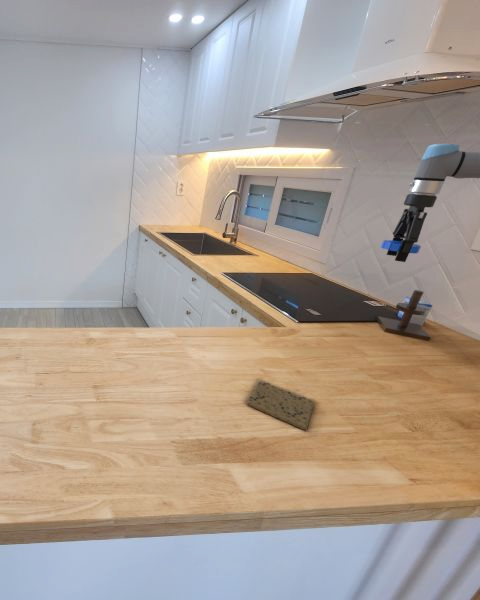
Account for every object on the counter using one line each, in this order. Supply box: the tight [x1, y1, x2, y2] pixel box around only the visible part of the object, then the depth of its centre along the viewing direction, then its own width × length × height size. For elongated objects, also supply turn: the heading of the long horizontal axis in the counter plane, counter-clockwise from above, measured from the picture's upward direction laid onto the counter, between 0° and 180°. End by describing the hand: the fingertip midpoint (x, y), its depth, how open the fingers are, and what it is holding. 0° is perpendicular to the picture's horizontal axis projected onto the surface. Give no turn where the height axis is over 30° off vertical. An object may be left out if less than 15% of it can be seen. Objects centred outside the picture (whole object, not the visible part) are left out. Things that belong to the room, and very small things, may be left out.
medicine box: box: [397, 295, 433, 327], centre depth 128 cm, size 8×4×9 cm, turn 164°
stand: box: [375, 289, 431, 342], centre depth 119 cm, size 12×12×15 cm
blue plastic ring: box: [380, 239, 422, 254], centre depth 120 cm, size 10×10×2 cm
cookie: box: [246, 380, 315, 431], centre depth 77 cm, size 12×12×1 cm
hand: (395, 258), depth 122 cm, fingers closed on blue plastic ring, 10 cm apart
